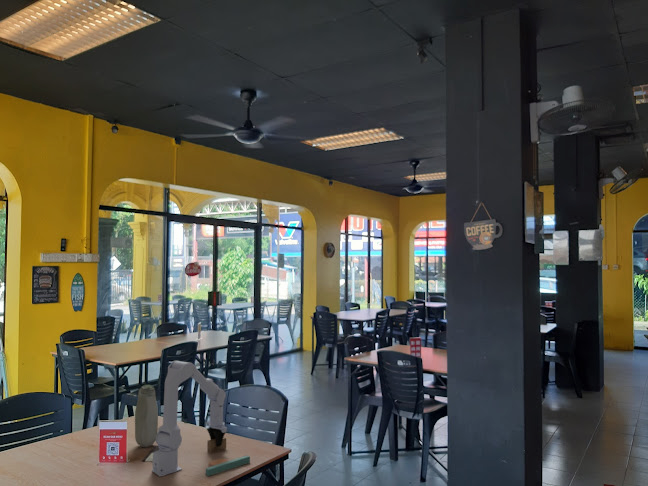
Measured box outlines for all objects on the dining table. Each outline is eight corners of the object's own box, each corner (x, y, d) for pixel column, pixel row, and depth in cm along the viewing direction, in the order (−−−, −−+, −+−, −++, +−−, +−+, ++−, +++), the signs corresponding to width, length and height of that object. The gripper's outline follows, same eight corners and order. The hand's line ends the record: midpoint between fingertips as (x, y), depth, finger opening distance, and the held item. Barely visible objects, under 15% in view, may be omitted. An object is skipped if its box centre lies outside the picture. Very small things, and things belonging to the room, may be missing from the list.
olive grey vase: (158, 447, 229) (158, 386, 230) (134, 450, 225) (135, 388, 227) (157, 440, 238) (157, 382, 240) (134, 443, 234) (135, 384, 236)
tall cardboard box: (210, 453, 222) (210, 442, 222) (207, 451, 224) (207, 440, 224) (226, 449, 227) (226, 438, 227) (222, 447, 229) (222, 436, 230)
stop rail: (208, 476, 197) (208, 469, 197) (205, 474, 199) (205, 468, 199) (249, 462, 211) (249, 456, 211) (247, 461, 212) (247, 455, 212)
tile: (217, 472, 202) (217, 467, 202) (208, 467, 207) (208, 462, 208) (231, 467, 207) (231, 462, 207) (222, 462, 212) (222, 457, 212)
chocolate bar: (174, 445, 231) (163, 460, 213) (174, 447, 231) (163, 462, 213) (155, 445, 230) (142, 460, 212) (155, 447, 230) (142, 462, 212)
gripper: (232, 416, 224) (232, 446, 223) (216, 409, 234) (216, 438, 234) (219, 419, 219) (218, 450, 218) (202, 412, 229) (202, 442, 229)
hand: (216, 444), depth 225 cm, fingers open, 4 cm apart
